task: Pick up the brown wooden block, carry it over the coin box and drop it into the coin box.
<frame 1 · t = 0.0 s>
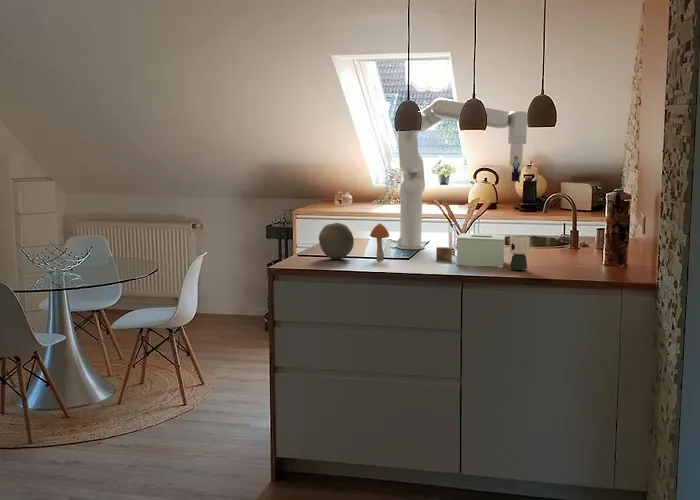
hand: (515, 180, 346), 31 cm above the worktop, fingers open, 9 cm apart
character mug: (518, 270, 308), on the worktop
mushroom: (379, 259, 330), on the worktop
cantaloupe: (336, 260, 328), on the worktop
brown wooden block: (443, 260, 328), on the worktop
coin box: (480, 263, 322), on the worktop
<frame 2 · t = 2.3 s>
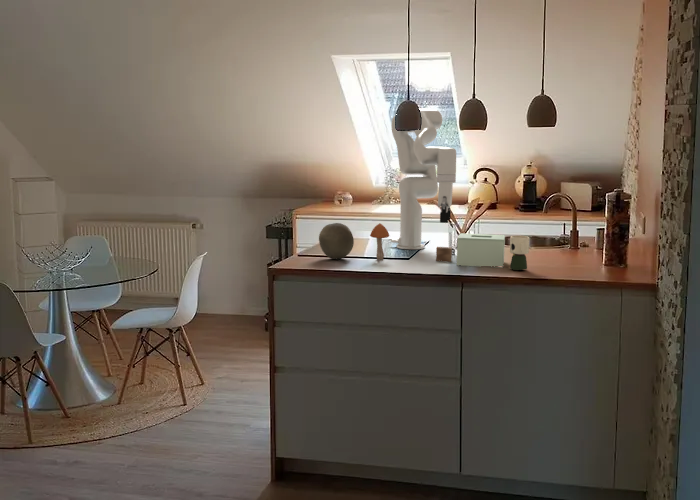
hand: (445, 221, 325), 16 cm above the worktop, fingers open, 9 cm apart
nothing on the worktop moved.
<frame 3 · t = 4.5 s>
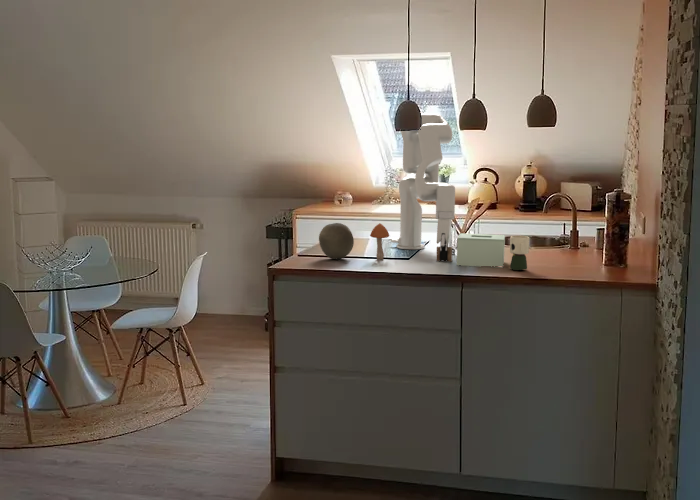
hand: (443, 259, 328), 0 cm above the worktop, fingers closed on brown wooden block, 2 cm apart
brown wooden block: (444, 260, 328), on the worktop, touching gripper
everything else where it was.
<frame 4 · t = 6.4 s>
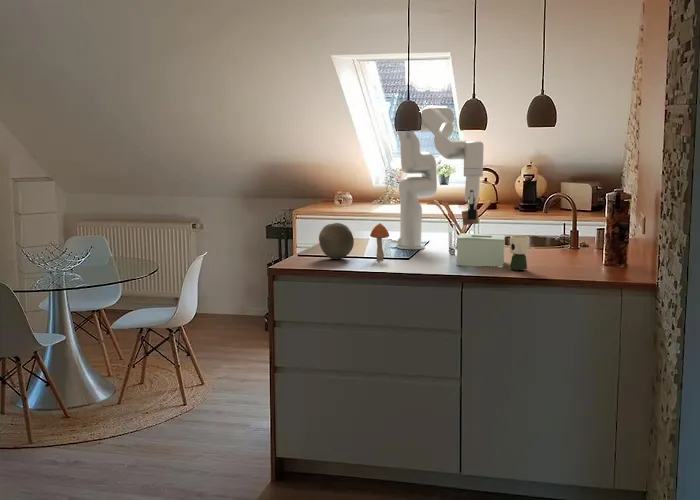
hand: (472, 218, 320), 18 cm above the worktop, fingers closed on brown wooden block, 2 cm apart
brown wooden block: (471, 223, 321), point 16 cm above the worktop, tilted 9°, touching gripper
everything else where it was.
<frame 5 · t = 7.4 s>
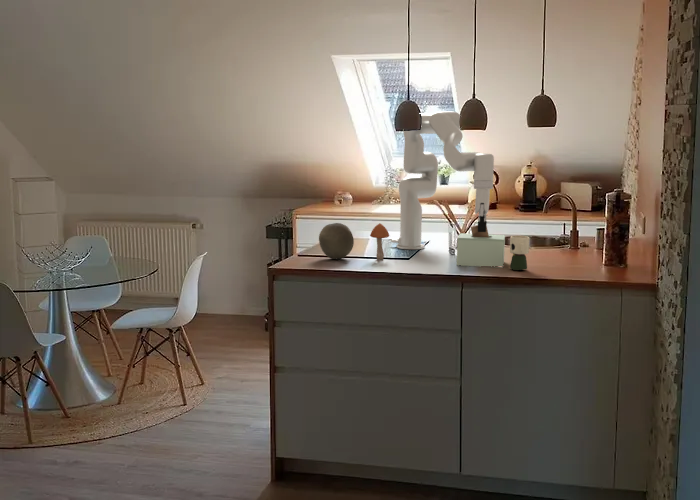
hand: (482, 230, 320), 13 cm above the worktop, fingers closed on brown wooden block, 2 cm apart
brown wooden block: (481, 238, 320), point 10 cm above the worktop, tilted 14°, touching gripper
everything else where it was.
when the fingers open (12 cm above the worktop, at t = 8.2 s): brown wooden block drops 8 cm, resting on coin box.
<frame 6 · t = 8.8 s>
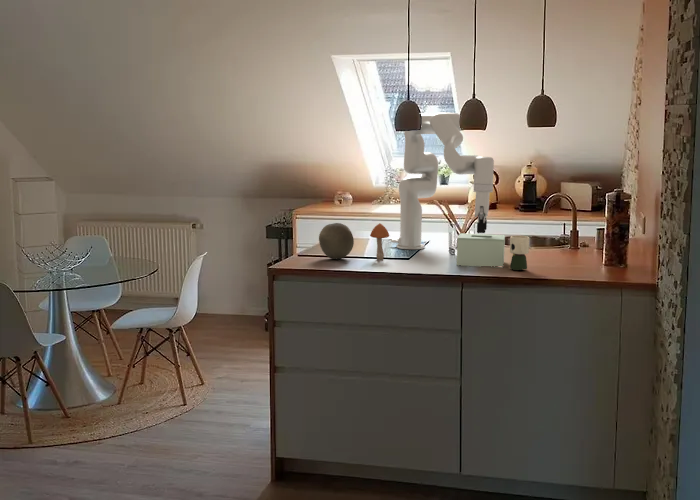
hand: (481, 231, 320), 13 cm above the worktop, fingers open, 9 cm apart
brown wooden block: (480, 261, 322), point 1 cm above the worktop, touching coin box
everything else where it was.
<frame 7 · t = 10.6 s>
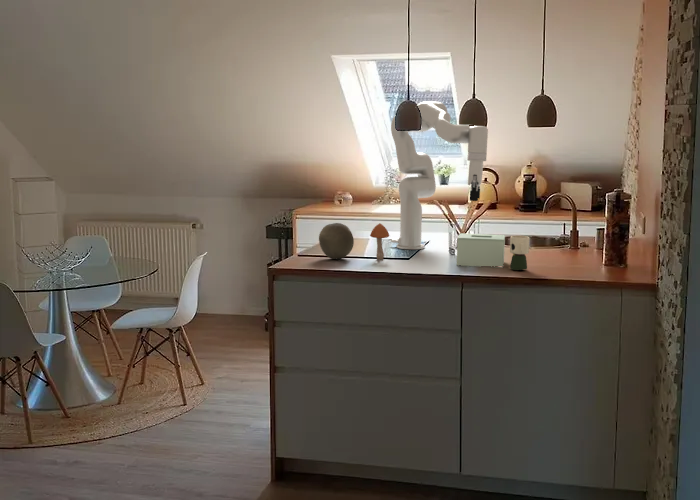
hand: (474, 199, 326), 25 cm above the worktop, fingers open, 9 cm apart
nothing on the worktop moved.
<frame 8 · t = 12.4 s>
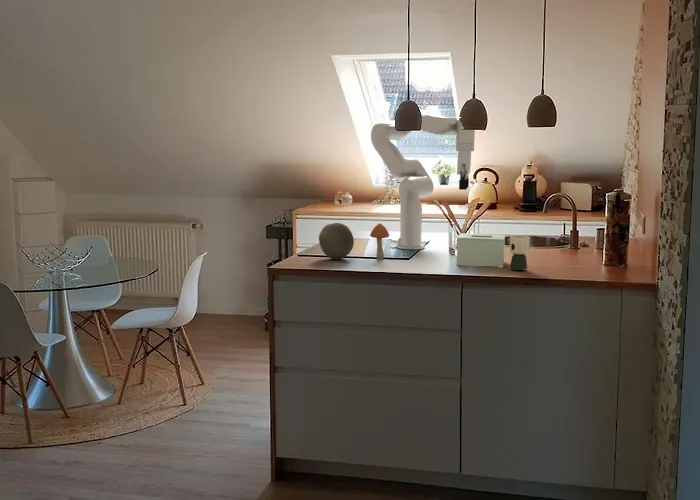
hand: (463, 188, 338), 28 cm above the worktop, fingers open, 9 cm apart
nothing on the worktop moved.
at the end: brown wooden block inside the target area on the coin box (0.2 cm from its centre), point 0.8 cm above the coin box's base; the gripper is holding nothing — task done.
